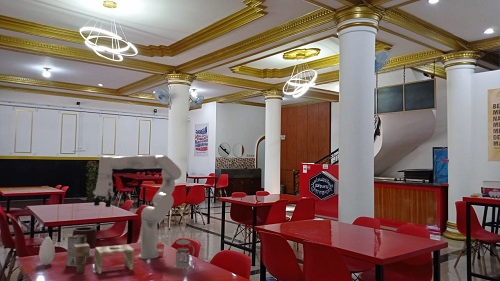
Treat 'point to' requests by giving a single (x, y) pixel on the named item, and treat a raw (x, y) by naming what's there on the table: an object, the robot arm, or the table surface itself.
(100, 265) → the stand
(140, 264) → the table surface
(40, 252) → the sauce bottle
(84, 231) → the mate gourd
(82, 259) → the hanger peg
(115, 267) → the table surface
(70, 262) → the coffee box
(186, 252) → the french press
